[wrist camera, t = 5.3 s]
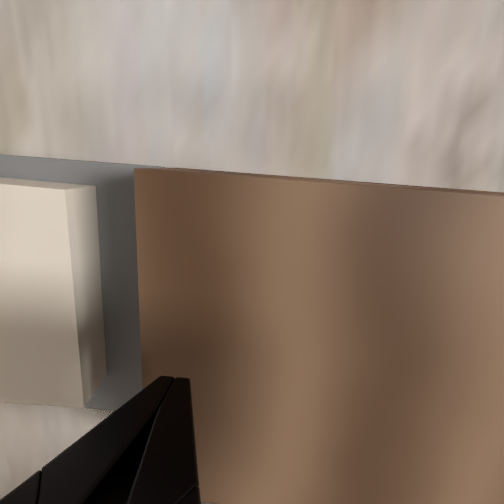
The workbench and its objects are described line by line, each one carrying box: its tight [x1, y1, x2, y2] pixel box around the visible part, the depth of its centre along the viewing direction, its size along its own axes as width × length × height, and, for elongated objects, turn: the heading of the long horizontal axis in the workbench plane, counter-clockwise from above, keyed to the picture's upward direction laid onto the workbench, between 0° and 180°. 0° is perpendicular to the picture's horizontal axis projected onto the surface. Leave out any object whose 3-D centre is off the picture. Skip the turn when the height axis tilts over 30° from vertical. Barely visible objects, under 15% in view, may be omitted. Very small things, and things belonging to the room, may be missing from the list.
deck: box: [134, 168, 504, 504], centre depth 11 cm, size 16×12×4 cm
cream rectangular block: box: [0, 177, 107, 408], centre depth 12 cm, size 6×9×2 cm, turn 175°
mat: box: [0, 154, 165, 411], centre depth 13 cm, size 10×12×1 cm
